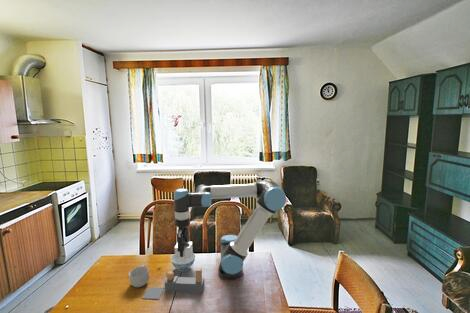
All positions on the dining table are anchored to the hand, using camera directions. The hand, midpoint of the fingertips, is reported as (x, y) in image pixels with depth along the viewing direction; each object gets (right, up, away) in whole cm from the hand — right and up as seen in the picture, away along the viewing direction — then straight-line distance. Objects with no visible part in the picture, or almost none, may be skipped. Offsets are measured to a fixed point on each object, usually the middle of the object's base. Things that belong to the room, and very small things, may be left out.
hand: (184, 257), depth 140 cm
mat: (-16, -19, -1) cm, 25 cm away
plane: (0, -18, +3) cm, 18 cm away
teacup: (-27, -18, +9) cm, 33 cm away
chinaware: (-5, -16, +22) cm, 27 cm away
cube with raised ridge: (0, +2, 0) cm, 2 cm away
